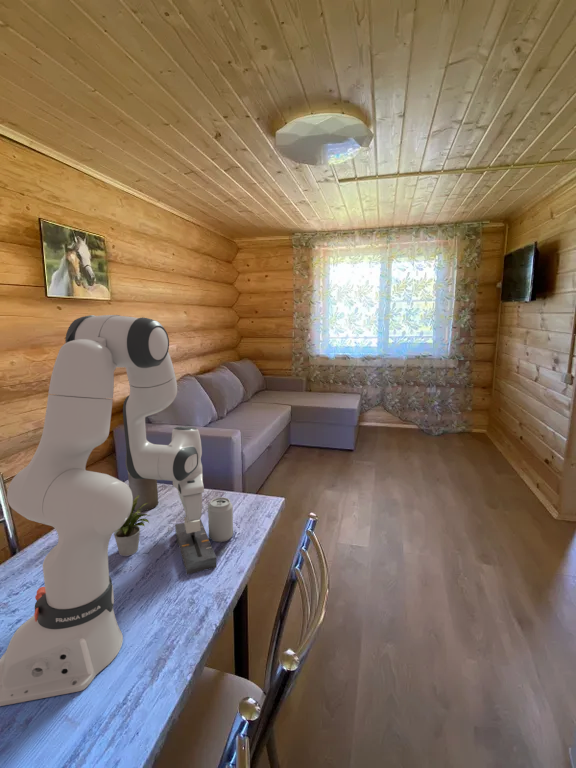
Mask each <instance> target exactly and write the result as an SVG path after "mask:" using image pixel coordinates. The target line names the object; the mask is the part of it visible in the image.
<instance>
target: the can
mask: <svg viewBox="0 0 576 768" xmlns="http://www.w3.org/2000/svg"><path fill="white" fill-rule="evenodd" d="M233 505H234V504H233V503H232V502H231V499H230V498H227V497H220V496H219V497H215V498H212V499H211V500H210V502H209V505H208V506H207V517H208V519H207V522H208V538H209V540H211V541H213V542H215V543H224V542H227V541H228V540H230V539H231V538H232V537H233V535H234V520H233V519H234V517H233V514H234V513H233V512H234V510H233V508H234V507H233Z"/></svg>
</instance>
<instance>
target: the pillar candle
mask: <svg viewBox="0 0 576 768" xmlns="http://www.w3.org/2000/svg"><path fill="white" fill-rule="evenodd" d="M127 477H128V478H127V479H128V486H129V487H130V489H131V492H132V496H133V501H134V499H135V498H136V497H137V496H138V495H139V497H138V499H137V504H136V506H135V509H134V511H135V510H136V511H137V510H138V509H139V508H140V507H141V506H142V505H143V504H145V503H147V504H146V505H144V506H143V507H142V508H141V509H140V510H139V512H145V510H146V511H149V510H152V509H154V508H155V507H157V506H158V505H159V493H158V480H156V479H134V478H133V477H132V476H131V475H130V474H129V473H128V472H127ZM141 510H142V511H141ZM136 511H135V512H136Z"/></svg>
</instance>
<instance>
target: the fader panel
mask: <svg viewBox="0 0 576 768" xmlns="http://www.w3.org/2000/svg"><path fill="white" fill-rule="evenodd" d="M174 527H175V536H176V540H177V543H178V544H177V545H178V547H179V550H180V551H179V552H180V553H181V554H180V555H181V557H182V561H183V566H184V568H185V573H186V575H191V574H196V573H199V572H202V571H206V570H211V569H215V568H217V556H216V553H215V550H214V548H213V546H212V544H211V542H210V538H209V535H208V534H207V532H206V529H205V526H204V524H203V522H202V519H201V518H200V531H197V532H195V535H192V536H191V533H186V530H185V524H184V522H181V523H177V524H174Z"/></svg>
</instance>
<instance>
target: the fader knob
mask: <svg viewBox="0 0 576 768" xmlns="http://www.w3.org/2000/svg"><path fill="white" fill-rule="evenodd" d="M200 519H201V518H200ZM200 519H199V520H195V521H188V519H187V517H186V516H184V517H183V523H184V524H185V530H186V533H191V536H192V535H195V532H197V531H200Z"/></svg>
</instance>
